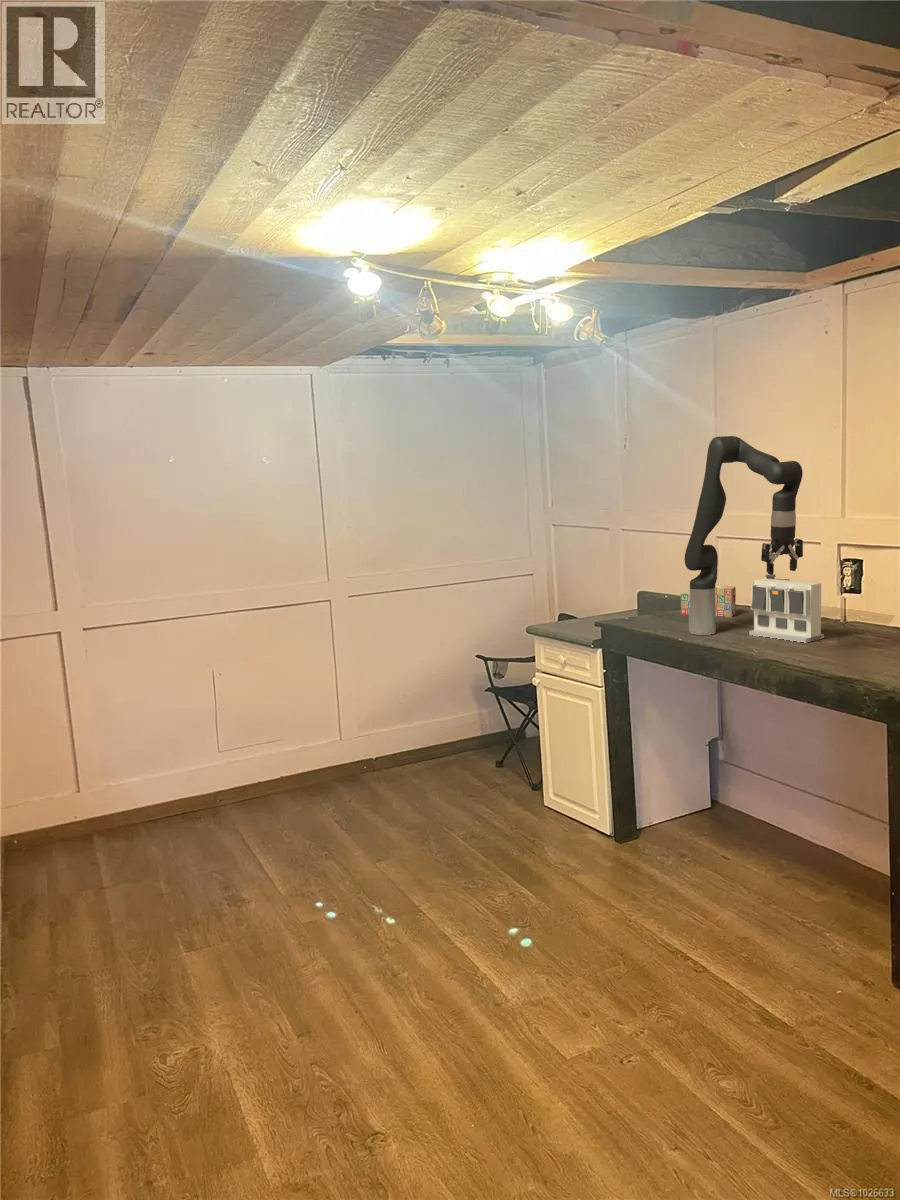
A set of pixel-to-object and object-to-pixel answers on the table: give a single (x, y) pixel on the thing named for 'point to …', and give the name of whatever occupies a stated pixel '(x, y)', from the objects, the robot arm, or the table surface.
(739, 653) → the table surface
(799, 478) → the robot arm
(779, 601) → the outlet rocker
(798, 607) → the outlet rocker
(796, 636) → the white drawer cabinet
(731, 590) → the stack of blocks
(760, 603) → the rocker switch
